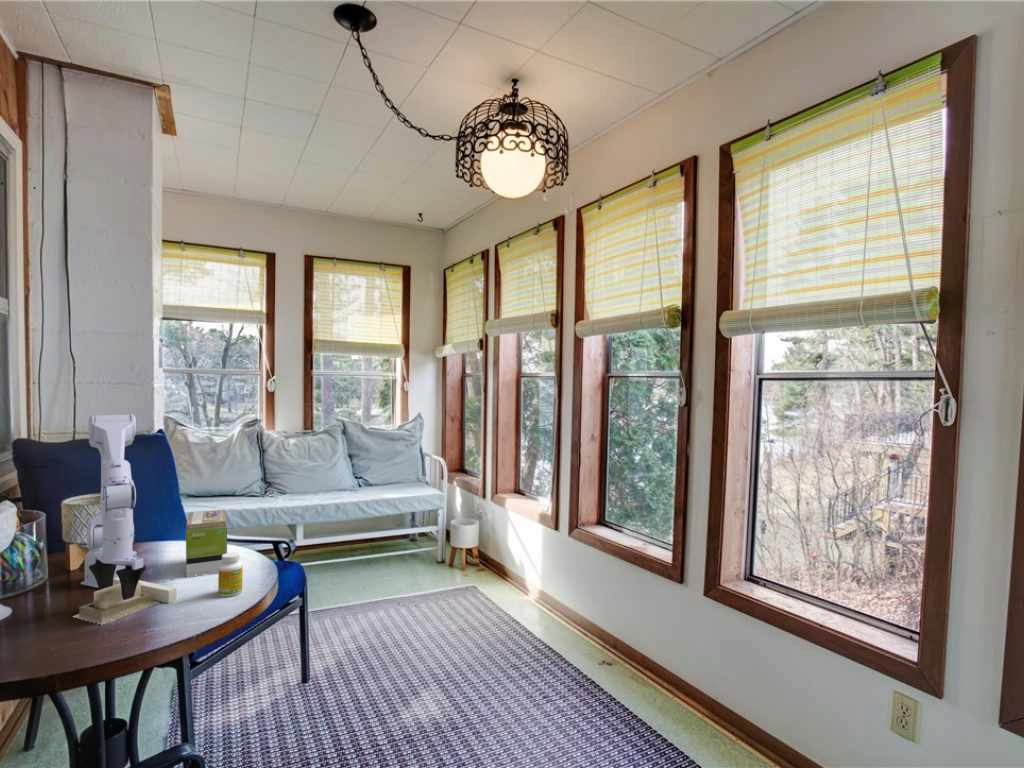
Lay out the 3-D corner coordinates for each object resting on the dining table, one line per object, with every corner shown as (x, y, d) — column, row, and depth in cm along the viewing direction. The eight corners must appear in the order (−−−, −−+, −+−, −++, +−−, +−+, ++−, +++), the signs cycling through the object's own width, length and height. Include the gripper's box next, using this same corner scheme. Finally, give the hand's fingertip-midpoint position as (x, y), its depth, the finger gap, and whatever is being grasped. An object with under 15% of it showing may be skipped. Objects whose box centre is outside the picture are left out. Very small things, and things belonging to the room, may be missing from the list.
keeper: (72, 617, 126) (72, 607, 126) (129, 597, 138) (130, 587, 138) (102, 625, 122) (102, 614, 122) (158, 603, 134) (158, 593, 134)
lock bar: (93, 614, 127) (93, 591, 127) (128, 601, 135) (129, 580, 135) (105, 617, 126) (105, 594, 126) (140, 603, 133) (140, 582, 133)
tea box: (188, 561, 165) (188, 511, 165) (226, 557, 170) (227, 508, 169) (185, 578, 152) (185, 523, 152) (226, 572, 156) (227, 519, 156)
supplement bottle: (232, 598, 138) (232, 558, 138) (213, 596, 139) (213, 557, 139) (246, 590, 144) (247, 552, 143) (228, 588, 145) (228, 550, 145)
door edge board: (112, 590, 142) (112, 578, 142) (120, 588, 144) (120, 576, 144) (168, 603, 135) (168, 590, 135) (176, 600, 136) (176, 588, 136)
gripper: (156, 536, 131) (155, 594, 131) (114, 529, 136) (113, 585, 136) (125, 544, 124) (125, 605, 125) (82, 536, 130) (82, 595, 130)
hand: (117, 595), depth 130 cm, fingers open, 7 cm apart
